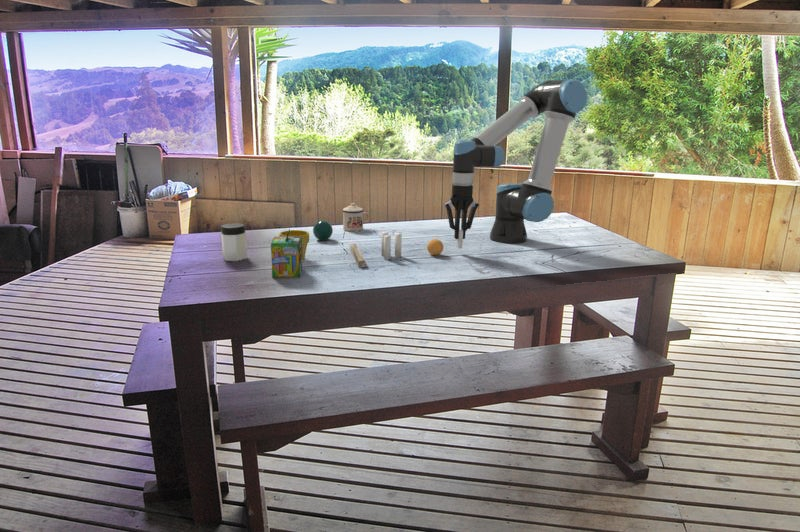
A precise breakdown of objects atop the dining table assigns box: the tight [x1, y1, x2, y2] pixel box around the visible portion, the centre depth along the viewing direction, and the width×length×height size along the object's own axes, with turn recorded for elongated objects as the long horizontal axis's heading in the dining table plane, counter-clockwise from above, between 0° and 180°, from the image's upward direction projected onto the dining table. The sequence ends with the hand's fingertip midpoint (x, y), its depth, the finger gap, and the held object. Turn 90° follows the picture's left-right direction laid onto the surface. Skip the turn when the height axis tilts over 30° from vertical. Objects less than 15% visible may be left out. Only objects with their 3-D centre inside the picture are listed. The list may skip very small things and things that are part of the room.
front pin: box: [394, 232, 403, 258], centre depth 207 cm, size 2×2×8 cm
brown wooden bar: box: [349, 243, 366, 269], centre depth 205 cm, size 2×24×2 cm, turn 12°
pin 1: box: [381, 231, 389, 257], centre depth 208 cm, size 2×2×8 cm
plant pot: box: [278, 229, 310, 261], centre depth 201 cm, size 10×10×10 cm
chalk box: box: [270, 228, 303, 279], centre depth 184 cm, size 9×9×15 cm
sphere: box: [312, 220, 333, 241], centre depth 230 cm, size 8×8×8 cm
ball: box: [426, 238, 444, 256], centre depth 210 cm, size 6×6×6 cm
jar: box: [220, 222, 248, 262], centre depth 201 cm, size 9×8×12 cm
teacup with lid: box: [342, 202, 370, 232], centre depth 250 cm, size 12×9×12 cm
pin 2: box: [383, 234, 392, 261], centre depth 204 cm, size 2×2×8 cm
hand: (459, 247), depth 212 cm, fingers closed
